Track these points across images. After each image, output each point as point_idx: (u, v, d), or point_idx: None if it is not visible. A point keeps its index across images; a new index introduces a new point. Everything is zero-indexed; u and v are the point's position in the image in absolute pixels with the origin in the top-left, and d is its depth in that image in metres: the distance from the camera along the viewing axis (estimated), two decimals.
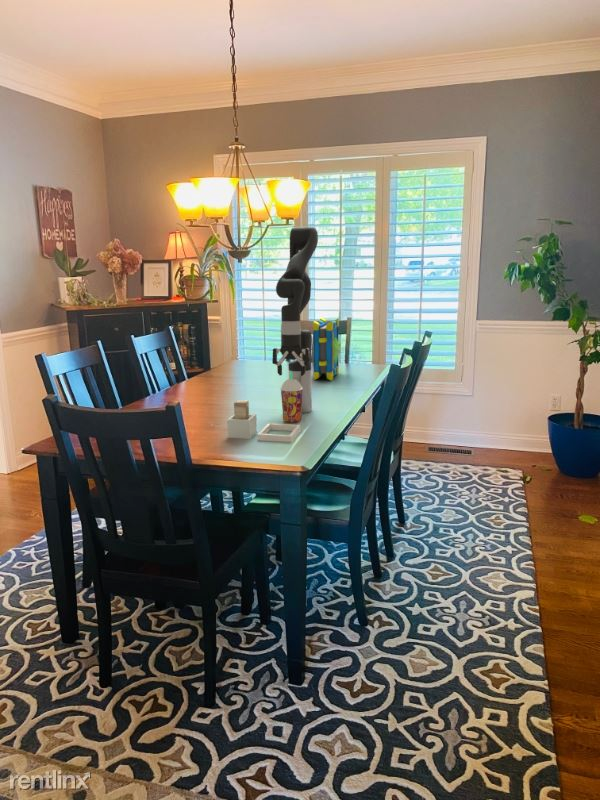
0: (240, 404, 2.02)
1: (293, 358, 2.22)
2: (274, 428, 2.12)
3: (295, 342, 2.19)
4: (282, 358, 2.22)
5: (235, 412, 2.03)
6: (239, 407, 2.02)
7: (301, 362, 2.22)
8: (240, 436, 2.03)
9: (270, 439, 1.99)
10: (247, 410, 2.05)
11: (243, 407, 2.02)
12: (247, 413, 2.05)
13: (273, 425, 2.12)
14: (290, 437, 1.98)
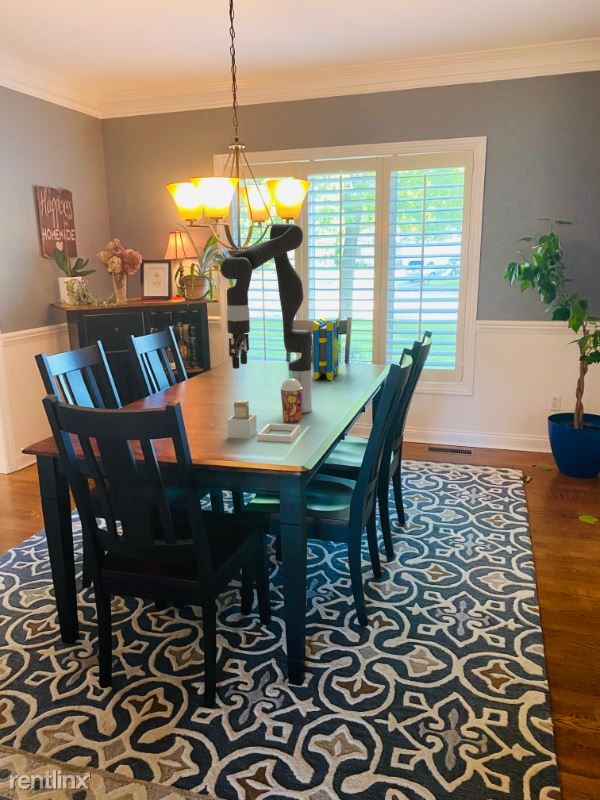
0: (240, 404, 2.02)
1: (243, 346, 2.00)
2: (274, 428, 2.12)
3: None
4: (241, 348, 1.96)
5: (235, 412, 2.03)
6: (239, 407, 2.02)
7: (246, 349, 2.03)
8: (240, 436, 2.03)
9: (270, 439, 1.99)
10: (247, 410, 2.05)
11: (243, 407, 2.02)
12: (247, 413, 2.05)
13: (273, 425, 2.12)
14: (290, 437, 1.98)
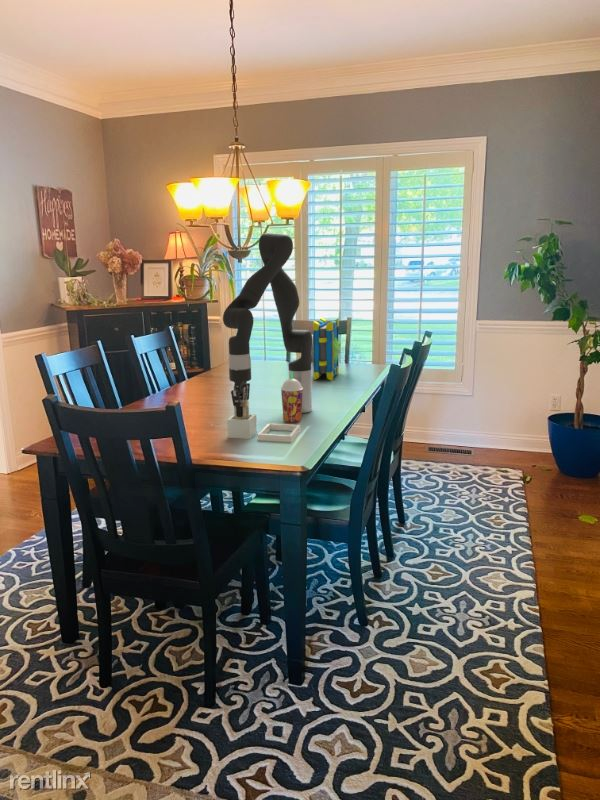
0: None
1: (244, 393, 2.04)
2: (274, 428, 2.12)
3: None
4: (243, 396, 2.01)
5: (235, 412, 2.03)
6: None
7: (246, 398, 2.06)
8: (240, 436, 2.03)
9: (270, 439, 1.99)
10: (247, 410, 2.05)
11: (243, 407, 2.02)
12: (247, 413, 2.05)
13: (273, 425, 2.12)
14: (290, 437, 1.98)
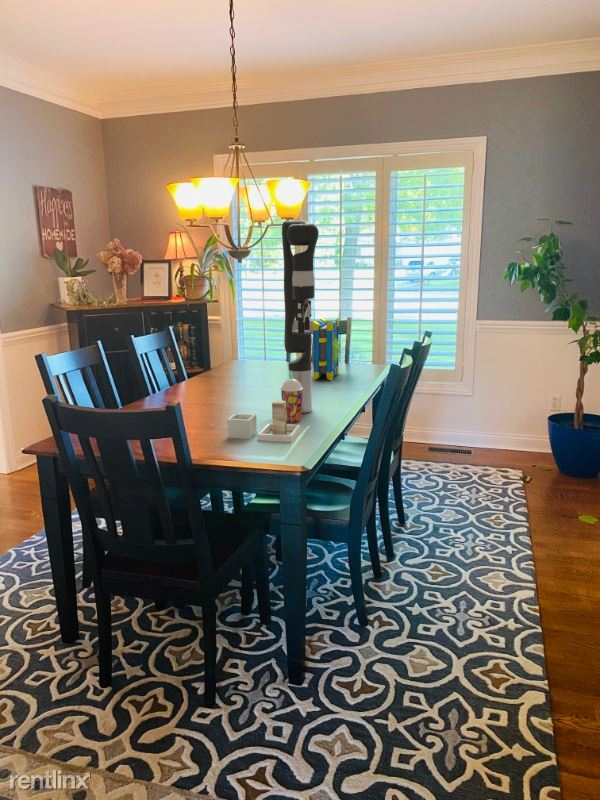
0: (278, 405, 2.01)
1: (307, 312, 2.05)
2: None
3: None
4: (306, 313, 2.01)
5: (273, 413, 2.02)
6: (277, 408, 2.02)
7: (309, 315, 2.08)
8: (240, 436, 2.03)
9: (270, 439, 1.99)
10: (285, 411, 2.04)
11: (281, 408, 2.01)
12: (285, 414, 2.04)
13: None
14: (290, 437, 1.98)
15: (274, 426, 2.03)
